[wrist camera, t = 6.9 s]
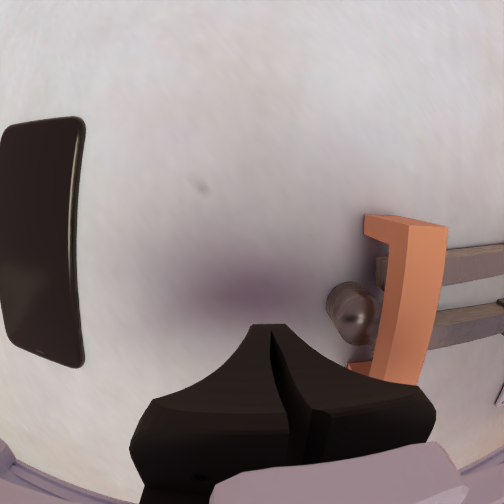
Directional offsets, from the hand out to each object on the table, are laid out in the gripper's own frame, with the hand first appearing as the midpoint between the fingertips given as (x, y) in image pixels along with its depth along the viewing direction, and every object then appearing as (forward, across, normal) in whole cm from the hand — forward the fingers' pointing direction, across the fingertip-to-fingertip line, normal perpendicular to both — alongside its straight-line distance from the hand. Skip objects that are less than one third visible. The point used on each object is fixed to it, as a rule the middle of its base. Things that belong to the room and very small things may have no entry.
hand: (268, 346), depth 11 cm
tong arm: (+4, -13, -3) cm, 14 cm away
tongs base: (+4, -12, +1) cm, 13 cm away
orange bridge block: (+4, -6, 0) cm, 7 cm away
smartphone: (+5, +14, -3) cm, 16 cm away
